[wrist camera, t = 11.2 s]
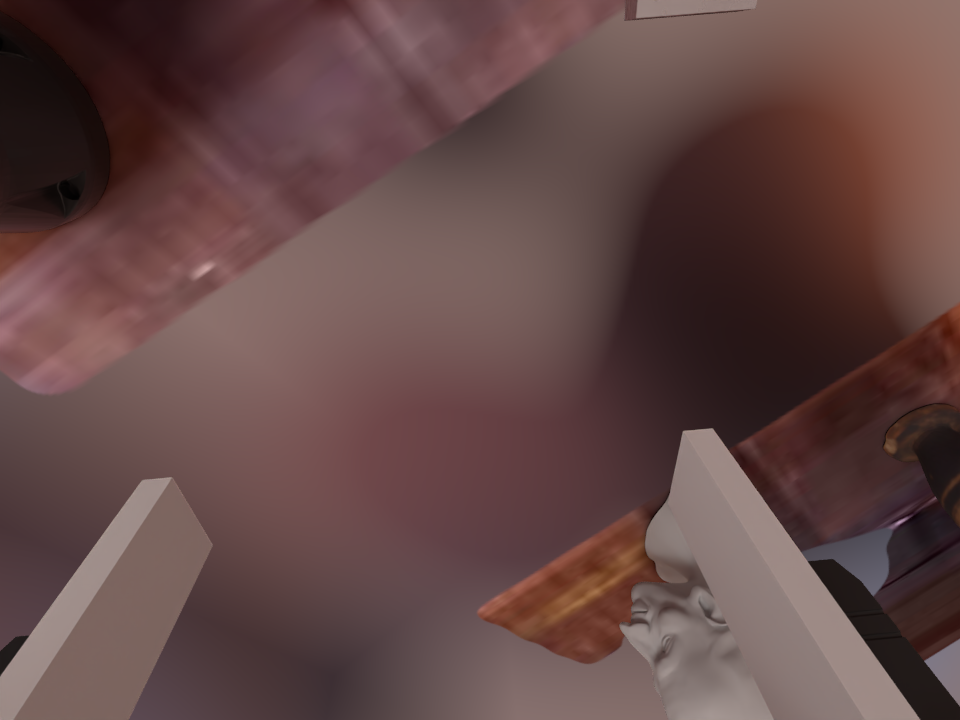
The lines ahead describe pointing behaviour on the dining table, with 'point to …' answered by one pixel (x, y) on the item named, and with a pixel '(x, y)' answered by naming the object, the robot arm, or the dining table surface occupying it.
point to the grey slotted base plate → (682, 7)
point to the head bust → (688, 636)
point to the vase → (931, 450)
